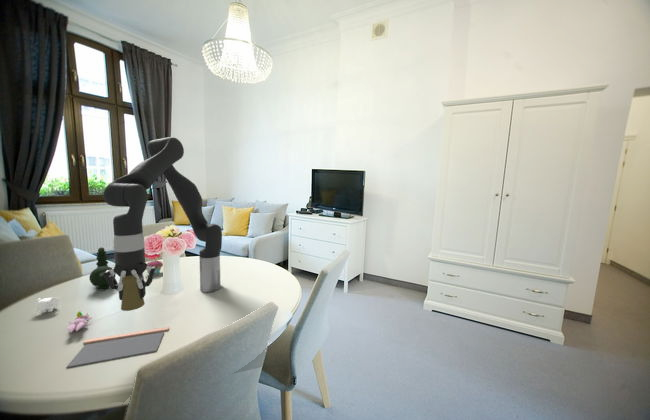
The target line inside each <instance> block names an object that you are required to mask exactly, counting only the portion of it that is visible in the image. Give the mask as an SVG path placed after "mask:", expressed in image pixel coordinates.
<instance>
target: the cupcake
mask: <svg viewBox="0 0 650 420" xmlns="http://www.w3.org/2000/svg"><path fill="white" fill-rule="evenodd" d="M146 264H147V266H150V267H154V266H156V267H157V269H156V272H155V275H157V274H160V271H161V269H162V267H164V265H163V262H162V261H160V260H157V256H156V257H155V256H154V260H151V261H149V262H146Z"/></svg>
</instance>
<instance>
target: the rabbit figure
mask: <svg viewBox="0 0 650 420" xmlns="http://www.w3.org/2000/svg"><path fill="white" fill-rule="evenodd" d="M92 318H93V317H92V316H89V314H88V312H87V313H86V314H83V313H82V312H81V311H80V310H79V311H78V312H77V314H76V317H75V320H73V321H69V322H68V324H69V325H68V326H67V331H68V332H69V333H73V331H76V332H78V331H79V330H80V329H83V328H84V327H86V326H87V325H88V324H89V322H88V321H89V320H92Z"/></svg>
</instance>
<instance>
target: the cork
mask: <svg viewBox="0 0 650 420" xmlns="http://www.w3.org/2000/svg"><path fill="white" fill-rule="evenodd" d="M136 277H137V276H136ZM136 277H135V276H133V275H126V276H125V277H122V280H121V281H122V284H123V285H124V286H123V296H122V300H121V306H120V310H121V311H123V312H131V311H135V310H138V309H140V308H142V307H143V306H144V305H145V299H144V298H145V297H143V298H142V299H140V295H139V290H138V289H139V287H138V284H137V278H136ZM141 277H142V276H140V279H141Z"/></svg>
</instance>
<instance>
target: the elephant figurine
mask: <svg viewBox="0 0 650 420" xmlns="http://www.w3.org/2000/svg"><path fill="white" fill-rule="evenodd" d="M59 302H60V299H59V298H58V297H56V296H53V297H46V298H41V297H39V298H37V300H36V301H35V303H34V305H35V306H36V312H39V313H40V314H44V313H46V312H48V313H51V312H53V310H57V309H58V305H59Z"/></svg>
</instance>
